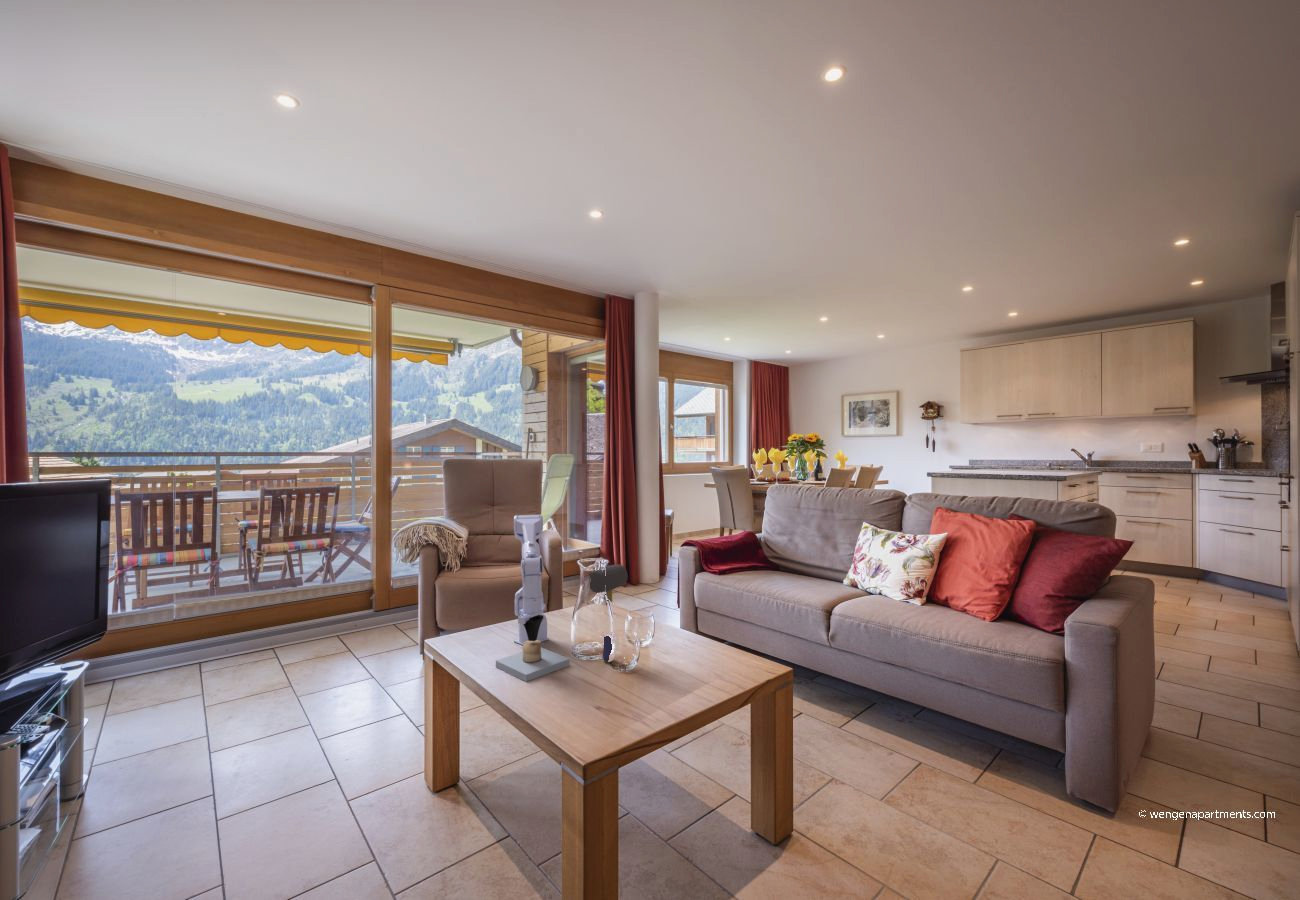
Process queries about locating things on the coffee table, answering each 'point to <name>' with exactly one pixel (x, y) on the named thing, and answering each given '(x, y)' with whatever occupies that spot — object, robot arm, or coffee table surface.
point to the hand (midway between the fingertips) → (532, 640)
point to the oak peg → (531, 651)
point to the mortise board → (532, 665)
